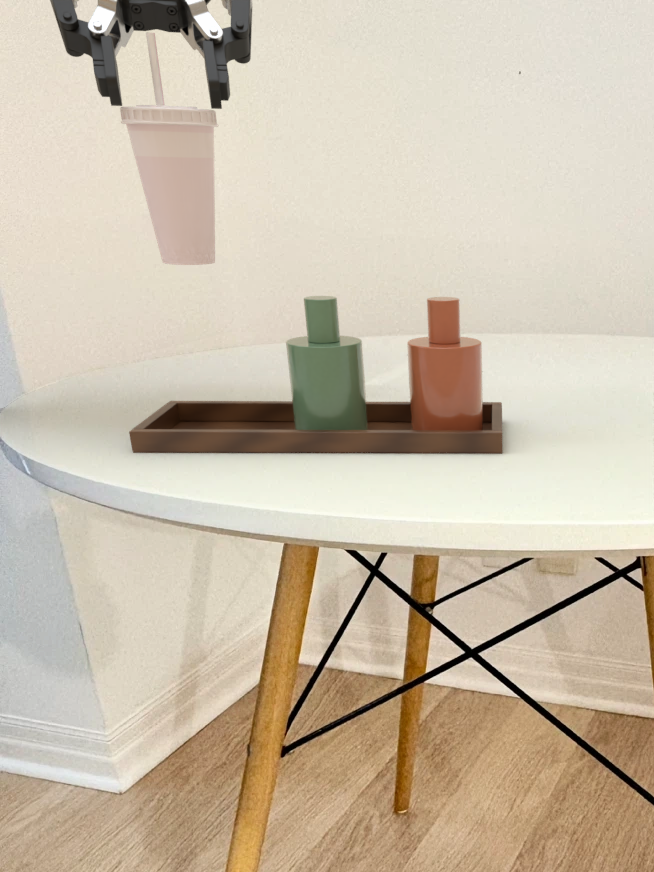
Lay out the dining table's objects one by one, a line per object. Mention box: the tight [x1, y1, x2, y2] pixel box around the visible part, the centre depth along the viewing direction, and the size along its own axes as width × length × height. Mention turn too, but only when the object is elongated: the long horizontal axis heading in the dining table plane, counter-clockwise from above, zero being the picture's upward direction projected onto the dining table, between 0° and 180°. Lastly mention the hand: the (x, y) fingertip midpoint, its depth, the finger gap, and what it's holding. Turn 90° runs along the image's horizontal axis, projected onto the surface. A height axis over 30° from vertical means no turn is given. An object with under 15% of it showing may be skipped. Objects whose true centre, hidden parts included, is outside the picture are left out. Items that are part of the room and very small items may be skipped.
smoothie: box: [119, 31, 219, 266], centre depth 70 cm, size 6×6×14 cm
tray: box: [128, 400, 503, 455], centre depth 78 cm, size 27×11×2 cm, turn 92°
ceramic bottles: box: [285, 295, 484, 430], centre depth 76 cm, size 15×6×10 cm, turn 92°
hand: (166, 96), depth 67 cm, fingers closed on smoothie, 6 cm apart
